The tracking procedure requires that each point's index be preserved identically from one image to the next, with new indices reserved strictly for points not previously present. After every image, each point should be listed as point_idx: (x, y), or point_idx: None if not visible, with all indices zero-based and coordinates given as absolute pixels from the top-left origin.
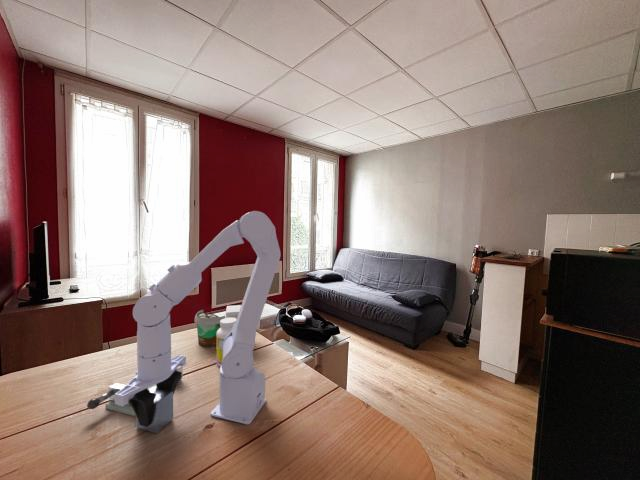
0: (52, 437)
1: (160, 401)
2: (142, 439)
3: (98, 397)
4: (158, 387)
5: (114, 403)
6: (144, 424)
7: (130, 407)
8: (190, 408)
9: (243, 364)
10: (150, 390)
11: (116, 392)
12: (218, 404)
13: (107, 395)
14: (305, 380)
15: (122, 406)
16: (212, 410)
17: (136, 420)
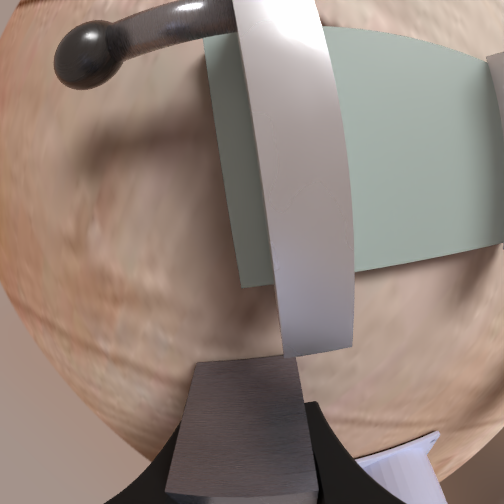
0: (25, 97)
1: None
2: (184, 408)
3: (118, 23)
4: (322, 497)
5: (230, 79)
6: None
7: (256, 225)
8: (365, 414)
9: None
10: (270, 501)
11: (240, 49)
12: (383, 456)
13: (177, 31)
14: (460, 460)
15: (236, 162)
16: (358, 462)
17: (190, 387)
